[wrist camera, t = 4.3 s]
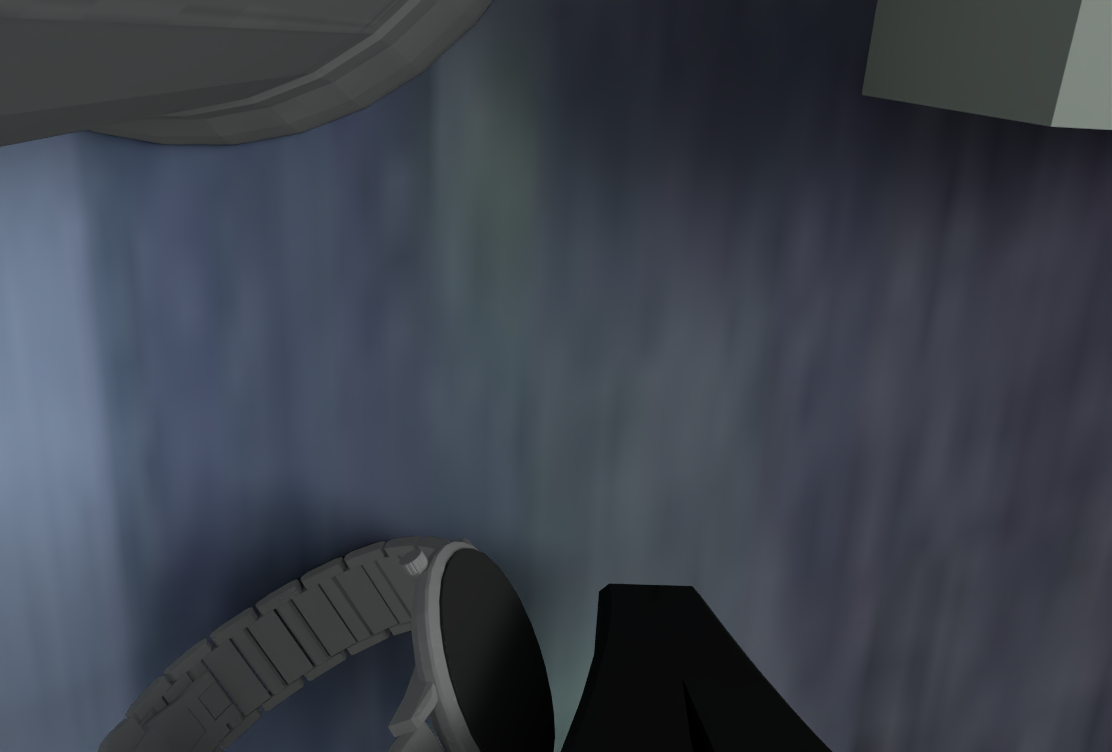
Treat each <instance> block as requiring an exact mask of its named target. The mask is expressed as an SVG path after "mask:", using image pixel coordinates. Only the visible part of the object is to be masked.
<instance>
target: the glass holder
mask: <svg viewBox="0 0 1112 752" xmlns="http://www.w3.org/2000/svg"><path fill="white" fill-rule="evenodd" d="M492 1H493V0H0V147H1V146H6V145H11V144H16V143H21V142H26V141H32V140H37V139H42V138H47V137H52V136H57V135H62V134H68V133H73V132H78V131H83V130H89V131H92V132H98V133H103V134H109V135H114V136H120V137H126V138H131V139H137V140H143V141H148V142H154V143H159V144H213V145H236V144H242V143H247V142H253V141H258V140H264V139H269V138H275V137H281V136H286V135H292V134H297V133H302V132H305V131H308V130H310V129H313V128H315V127H318V126H321V125H323V124H326V123H328V122H331V121H333V120H336V119H339V118H341V117H344V116H346V115H349V114H352V113H354V112H357V111H359V110H362V109H365V108H366V107H368V106H369V105H371V104H373V103H374V102H376V101H378V100H379V99H381V98H382V97H384V96H386V95H387V94H389V93H390V92H392V91H394V90H395V89H397V88H398V87H400V86H402V85H403V84H405V83H406V82H408V81H410V80H411V79H413V78H414V77H416V76H418V75H419V74H421V73H422V72H424V71H425V70H426V69H427V68H428V67H429V66H430V65H431V64H432V63H433V62H434V61H436V60H437V59H438V58H439V57H440V56H441V55H442V54H443V53H444V52H445V51H446V50H448V49H449V48H450V47H451V46H452V45H453V44H454V43H455V42H456V41H457V40H458V39H459V38H461V37H462V36H463V35H464V34H465V33H466V32H467V31H468V30H469V29H470V28H471V27H473V26H474V25H475V23H476V22H477V21H478V20H479V18H480V17H481V16H482V14H483V13H484V12H485V10H486V9H487V8H488V6H489V5H490V4H491V2H492Z"/></svg>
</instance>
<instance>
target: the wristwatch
mask: <svg viewBox="0 0 1112 752" xmlns="http://www.w3.org/2000/svg"><path fill="white" fill-rule="evenodd" d="M301 581H302V583H303V585H304V587H302V585H301V584H300V582H299V581H298V580H294V581H291V582H289V583H287V584H286V585H284V586H282V587H281V588H279V589H277V590H275V591H274V592H272V593H270V594H268V595H267V596H266V597H264V598H263V599H261V600H260V601H259V602H257V603H256V604H255V605H256V608H257V609H258V611H259V612H260V613H259V614H257V613H256V612H255V610H254V609H253V608H252V607H250V608H248V609H246V610H244V611H243V612H241V613H240V614H238V615H236V616H235V617H233V618H232V619H230V620H229V621H227V622H226V623H224V624H223V625H221V626H220V627H218V628H217V629H216V630H214V631H213V632H212V633H211V634H210V638H211V639H212V640H213V642H214V643H215V644H213V645H212V646H211V645H210V643H209V642H208V641H207V639H206V638H204V639H203V640H201V641H199V642H198V643H196V644H195V645H193V646H192V647H191V648H190V649H189V650H187V651H186V652H185V653H184V654H183V655H181V656H180V657H179V658H178V659H176V660H175V661H174V662H173V663H172V664H171V665H169V666H168V667H167V668H166V669H165V671H164V672H163V673H164V674H165V675H166V676H167V678H168V679H169V680H170V681H168V680H167V679H166V677H165V676H160V677H158V678H156V679H155V680H154V681H153V682H152V683H151V684H150V685H149V686H148V687H147V688H146V689H145V690H144V691H143V693H142V694H141V695H140V696H139V697H138V698H137V699H136V700H135V702H134V703H133V704H132V705H131V706H130V708H129V709H128V711H127V713H126V714H125V715H126V716H127V717H128V718H127V719H124V720H123V721H121V722H120V723H119V724H118V725H117V726H116V728H114V729H113V730H112V731H111V732H110V733H109V734H108V735H107V737H106V738H105V739H104V741H103V742H102V743H101V745H100V748H99V750H98V752H223V751H222V749H221V748H220V747H219V745H220V746H221V747H223V748H228V747H229V746H230V745H231V744H232V743H233V742H234V741H235V740H236V739H237V738H239V737H240V736H241V735H242V734H243V733H244V732H245V731H246V730H247V729H248V728H249V727H250V726H251V725H253V724H254V723H255V722H256V721H257V720H258V719H259V718H260V717H261V716H262V712H261V711H260V710H259V709H258V707H259V706H260V705H261V706H262V708H263V709H264V710H265V711H266V712H268V711H269V710H271V709H272V708H274V707H275V706H276V705H278V704H279V703H281V702H282V701H284V700H285V699H286V698H288V697H289V696H291V695H292V694H293V693H295V692H296V691H298V690H299V689H300V688H302V687H303V686H304V684H305V682H304V679H303V678H302V675H304V676H305V677H306V679H307V680H308V681H312V680H313V679H315V678H317V677H318V676H320V675H322V674H323V673H325V672H326V671H328V670H330V669H331V668H333V667H334V666H336V665H338V664H339V663H341V662H342V661H344V660H346V658H347V651H346V650H345V649H346V648H347V650H348V651H349V653H350V654H351V655H354V654H356V653H359V652H361V651H363V650H365V649H367V648H369V647H371V646H373V645H375V644H377V643H379V642H381V641H383V640H385V639H387V638H389V636H390V633H391V632H392V634H393V635H394V636H395V635H398V634H401V633H404V632H407V631H411V632H412V640H413V648H414V656H415V664H416V665H415V668H414V671H413V674H412V677H411V679H410V682H409V685H408V688H407V691H406V693H405V696H404V698H403V700H402V702H401V704H400V706H399V707H398V709H397V711H396V713H395V715H394V717H393V718H392V720H391V722H390V724H389V726H388V728H389V730H390V731H391V733H392V734H393V736H394V737H397V736H398V737H397V738H396V740H395V741H394V743H393V744H392V745H391V747H390V748H389V750H388V751H387V752H445V751H446V752H553V751H554V741H555V728H554V711H553V704H552V696H551V691H550V686H549V681H548V677H547V672H546V667H545V664H544V660H543V657H542V654H541V650H540V647H539V644H538V641H537V638H536V635H535V633H534V630H533V627H532V624H531V622H530V620H529V618H528V616H527V614H526V611H525V609H524V607H523V605H522V603H521V601H520V598H519V597H518V595H517V593H516V592H515V590H514V588H513V587H512V585H511V583H510V582H509V580H508V579H507V577H506V576H505V575H504V573H503V572H502V571H501V570H500V568H499V567H498V566H497V565H496V564H495V563H494V562H493V561H492V560H491V559H490V558H489V557H488V556H487V555H486V554H484V553H482V552H480V551H479V550H478V549H476V548H475V547H473V545H472V544H471V542H470V541H469V540H468V539H467V538H464V537H463V538H461V539H458V540H455V541H453V542H450V540H449V539H444V538H438V537H432V536H427V537H424V538H423V539H422V538H421V537H419V536H410V537H402V538H394V539H392V540H390V541H388V542H387V543H386V541H381V542H377V543H374V544H371V545H368V546H365V547H363V548H360V549H357V550H354V551H352V552H350V553H348V554H347V555H346V556H345V558H344V559H343V557H340V558H336V559H334V560H332V561H329V562H327V563H325V564H323V565H321V566H319V567H317V568H315V569H313V570H311V571H309V572H307V573H306V574H304V575H303V576H302V577H301ZM275 609H276V610H277V612H278V613H279V615H280V616H281V617H282V619H283V620H284V622H285V623H286V624H287V626H288V627H289V629H290V630H291V632H292V633H293V634H294V636H295V637H296V639H297V640H298V641H299V643H300V644H301V646H302V647H303V648H304V650H305V651H306V653H307V654H308V656H309V657H310V658H311V660H312V661H313V662H311V660H310V659H309V657H308V656H307V655H306V653H305V652H304V650H303V649H302V647H301V646H300V645H299V643H298V642H297V640H296V639H295V637H294V636H293V635H292V633H291V632H290V630H289V629H288V628H287V626H286V625H285V623H284V622H283V620H282V619H281V618H280V616H279V615H278V613H277V612H276V610H275ZM249 630H250V631H249ZM254 637H255V638H254ZM230 638H231V640H232V641H233V642H234V644H235V645H236V647H237V648H238V649H239V651H240V652H241V653H242V655H243V656H244V657H245V659H246V660H247V661H248V663H249V664H250V665H251V667H252V668H253V669H254V671H255V672H256V673H257V675H258V676H259V678H260V679H261V680H262V682H263V683H264V684H265V686H266V687H267V688H268V690H269V692H268V691H267V690H266V688H265V687H264V686H263V684H262V683H261V681H260V680H259V679H258V677H257V676H256V675H255V673H254V672H253V671H252V669H251V668H250V667H249V665H248V664H247V662H246V661H245V660H244V658H243V657H242V656H241V654H240V653H239V652H238V650H237V649H236V647H235V646H234V645H233V643H232V642H231V641H230ZM262 648H263V649H262ZM267 655H268V656H267ZM202 659H203V660H204V661H205V663H206V664H207V665H208V667H209V668H210V669H211V671H212V672H213V673H214V675H215V676H216V677H217V679H218V680H219V681H220V683H221V684H222V685H223V687H224V688H225V689H226V691H227V692H228V693H229V695H230V696H231V697H232V699H233V700H234V701H235V703H236V704H237V705H238V706H239V708H240V709H241V710H242V712H243V713H241V712H240V710H239V709H238V708H237V706H236V705H235V704H234V702H233V701H232V700H231V698H230V697H229V696H228V694H227V693H226V692H225V690H224V689H223V688H222V686H221V685H220V684H219V683H218V681H217V680H216V679H215V677H214V676H213V675H212V673H211V672H210V671H209V669H208V668H207V667H206V665H205V664H204V663H203V661H202ZM275 666H276V667H275ZM280 673H281V674H280ZM428 716H430V719H431V723H432V726H433V729H434V731H435V733H436V734H437V736H438V738H439V740H440V742H441V744H442V746H443V748H444V749H445V751H444V749H443V748H442V746H441V745H440V743H439V742H438V740H437V739H436V737H435V736H434V734H433V733H432V731H431V730H430V728H429V727H428V725H427V724H426V722H425V720H426V719H427V717H428ZM403 734H404V735H403ZM400 735H401V736H400ZM218 744H219V745H218Z"/></svg>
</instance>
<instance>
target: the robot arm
mask: <svg viewBox="0 0 1112 752" xmlns="http://www.w3.org/2000/svg"><path fill="white" fill-rule="evenodd" d="M561 752H832V751H831V750H830V749H829V748H828V747H827V746H826V745H825V744H824V743H823V742H822V741H821V740H820V739H819V738H818V737H817V735H816V734H815V733H814V732H813V731H812V730H811V729H810V728H809V727H808V726H807V725H806V724H805V722H804V721H803V720H802V719H801V718H800V717H799V716H798V715H797V714H796V713H795V712H794V710H793V709H792V708H791V707H790V706H789V705H788V703H787V702H786V701H785V700H784V699H783V698H782V697H781V695H780V694H779V693H778V692H777V691H776V690H775V688H774V687H773V686H772V685H771V684H770V683H769V681H768V680H767V679H766V678H765V677H764V676H763V675H762V673H761V672H760V671H759V670H758V669H757V667H756V666H755V665H754V664H753V662H752V661H751V660H750V659H749V658H748V656H747V655H746V654H745V653H744V651H743V650H742V649H741V648H740V646H739V645H738V644H737V642H736V641H735V640H734V639H733V637H732V636H731V635H730V634H729V632H728V631H727V630H726V628H725V627H724V626H723V625H722V623H721V622H720V621H719V619H718V618H717V617H716V615H715V614H714V613H713V611H712V610H711V609H710V607H709V606H708V605H707V604H706V602H705V601H704V600H703V598H702V597H701V596H700V594H699V593H698V592H697V591H696V590H695V589H694V588H693V587H692V586H668V585H635V584H608V585H607V586H606V587H604V588H603V589H602V590H600V591H599V599H598V612H597V625H596V638H595V651H594V657H593V660H592V664H591V667H590V670H589V674H588V677H587V681H586V684H585V688H584V691H583V694H582V697H581V700H580V703H579V706H578V709H577V711H576V714H575V716H574V719H573V721H572V724H571V727H570V729H569V732H568V734H567V737H566V739H565V742H564V744H563V747H562V750H561Z"/></svg>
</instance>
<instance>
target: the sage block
mask: <svg viewBox="0 0 1112 752" xmlns="http://www.w3.org/2000/svg"><path fill="white" fill-rule="evenodd" d="M862 95H865V96H871V97H877V98H883V99H889V100H895V101H901V102H907V103H913V104H919V105H925V106H931V107H937V108H943V109H949V110H955V111H961V112H967V113H973V114H979V115H985V116H991V117H997V118H1002V119H1008V120H1014V121H1020V122H1026V123H1032V124H1038V125H1044V126H1050V127H1067V128H1085V129H1104V130H1112V0H878V1H877V7H876V13H875V18H874V24H873V30H872V36H871V42H870V48H869V54H868V60H867V66H866V72H865V77H864V83H863V89H862Z"/></svg>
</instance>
